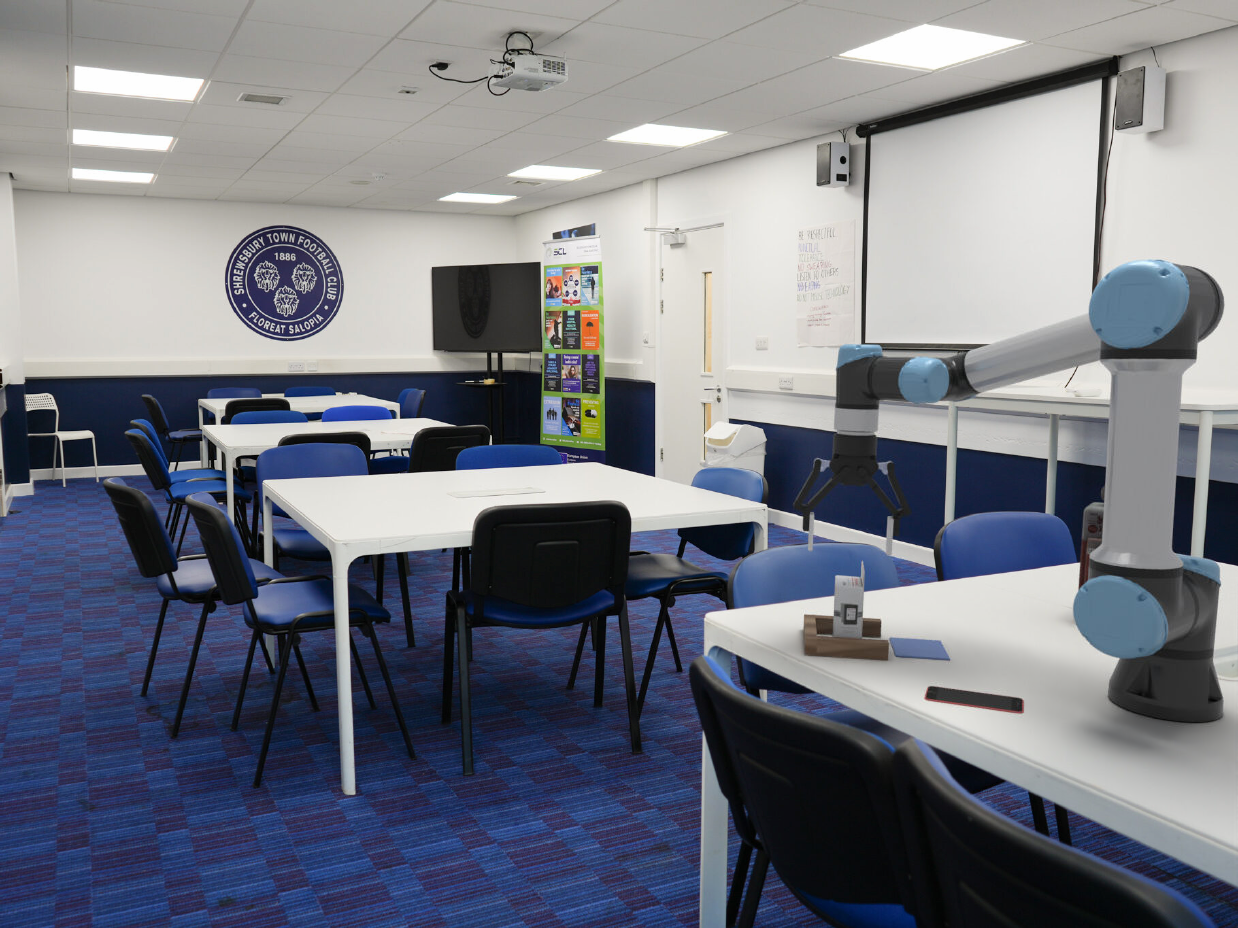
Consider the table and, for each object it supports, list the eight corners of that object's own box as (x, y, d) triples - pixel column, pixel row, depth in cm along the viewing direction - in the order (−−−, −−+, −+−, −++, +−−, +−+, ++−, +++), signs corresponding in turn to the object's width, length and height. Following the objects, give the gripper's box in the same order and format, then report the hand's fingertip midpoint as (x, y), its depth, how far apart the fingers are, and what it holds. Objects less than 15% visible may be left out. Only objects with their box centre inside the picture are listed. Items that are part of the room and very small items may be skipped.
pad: (950, 660, 167) (950, 658, 167) (895, 656, 169) (895, 654, 169) (940, 641, 178) (940, 640, 178) (889, 638, 179) (889, 637, 179)
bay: (888, 660, 167) (889, 643, 166) (804, 654, 169) (805, 638, 169) (879, 634, 182) (880, 618, 182) (803, 629, 185) (804, 614, 184)
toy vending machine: (1073, 627, 189) (1083, 484, 186) (1083, 615, 199) (1092, 478, 195) (1124, 635, 184) (1135, 488, 181) (1132, 622, 194) (1142, 482, 190)
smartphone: (927, 684, 154) (1023, 697, 149) (927, 688, 154) (1023, 701, 149) (923, 698, 147) (1023, 712, 142) (923, 702, 148) (1023, 716, 142)
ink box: (832, 637, 180) (835, 558, 178) (859, 639, 179) (863, 559, 177) (832, 650, 172) (836, 568, 170) (861, 652, 171) (865, 569, 169)
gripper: (926, 433, 173) (919, 551, 175) (783, 428, 177) (778, 543, 180) (932, 437, 165) (924, 560, 168) (783, 431, 170) (777, 551, 172)
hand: (849, 551), depth 174 cm, fingers open, 13 cm apart
